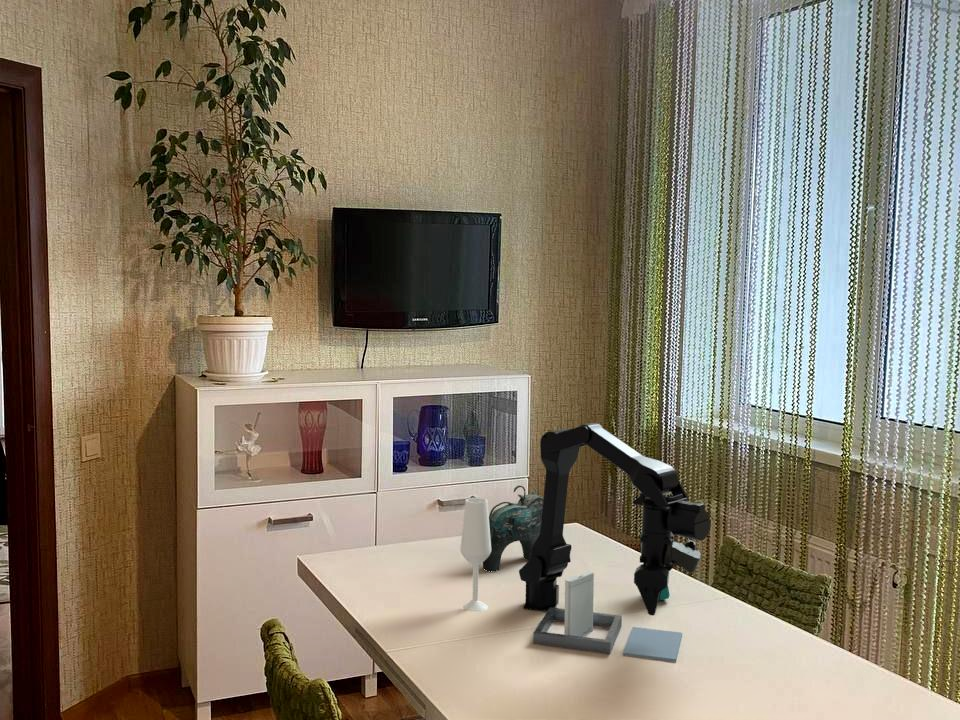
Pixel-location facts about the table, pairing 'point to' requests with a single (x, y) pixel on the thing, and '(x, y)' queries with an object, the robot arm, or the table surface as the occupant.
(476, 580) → the champagne flute
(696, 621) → the table surface
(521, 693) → the table surface
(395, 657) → the table surface
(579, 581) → the hard drive
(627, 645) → the mat
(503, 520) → the green bronze animal figure
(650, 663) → the table surface
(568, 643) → the gray square frame
